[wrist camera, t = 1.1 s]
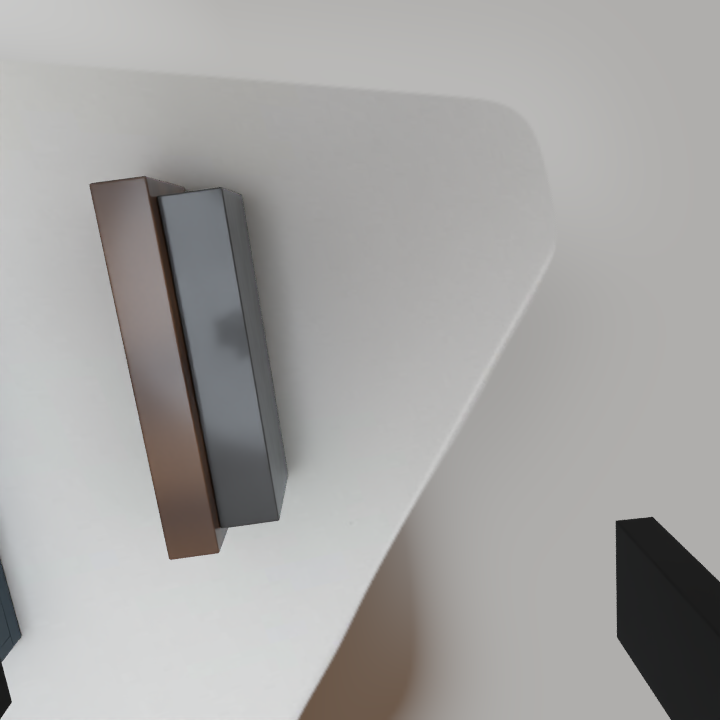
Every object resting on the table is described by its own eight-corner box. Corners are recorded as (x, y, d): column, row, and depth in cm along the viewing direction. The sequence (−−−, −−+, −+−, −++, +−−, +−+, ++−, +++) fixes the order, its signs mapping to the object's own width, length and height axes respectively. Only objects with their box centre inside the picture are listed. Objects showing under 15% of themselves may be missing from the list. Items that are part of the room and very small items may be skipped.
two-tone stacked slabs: (138, 192, 34) (88, 183, 27) (239, 178, 34) (214, 166, 27) (199, 500, 38) (168, 560, 31) (290, 487, 38) (280, 545, 31)
